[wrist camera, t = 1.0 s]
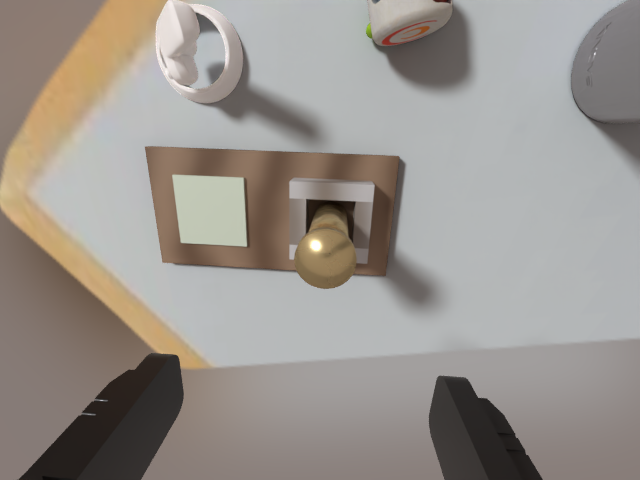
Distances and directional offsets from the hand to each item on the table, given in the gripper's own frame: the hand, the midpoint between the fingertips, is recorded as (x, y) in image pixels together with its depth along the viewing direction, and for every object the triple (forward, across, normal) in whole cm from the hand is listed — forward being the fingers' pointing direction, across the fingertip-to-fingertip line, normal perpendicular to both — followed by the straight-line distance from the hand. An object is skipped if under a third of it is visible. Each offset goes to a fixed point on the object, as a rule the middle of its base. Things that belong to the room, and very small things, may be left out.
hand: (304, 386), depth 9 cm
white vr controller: (+23, +12, -14) cm, 29 cm away
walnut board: (+22, +6, 0) cm, 23 cm away
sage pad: (+21, +12, 0) cm, 24 cm away
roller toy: (+22, -5, -17) cm, 29 cm away
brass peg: (+21, 0, 0) cm, 21 cm away
